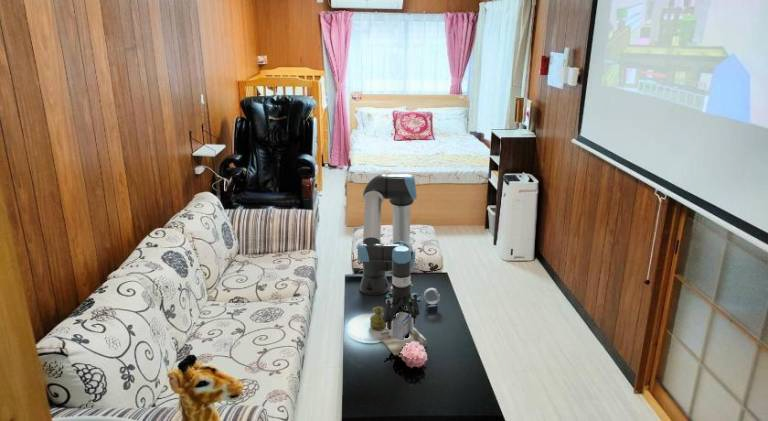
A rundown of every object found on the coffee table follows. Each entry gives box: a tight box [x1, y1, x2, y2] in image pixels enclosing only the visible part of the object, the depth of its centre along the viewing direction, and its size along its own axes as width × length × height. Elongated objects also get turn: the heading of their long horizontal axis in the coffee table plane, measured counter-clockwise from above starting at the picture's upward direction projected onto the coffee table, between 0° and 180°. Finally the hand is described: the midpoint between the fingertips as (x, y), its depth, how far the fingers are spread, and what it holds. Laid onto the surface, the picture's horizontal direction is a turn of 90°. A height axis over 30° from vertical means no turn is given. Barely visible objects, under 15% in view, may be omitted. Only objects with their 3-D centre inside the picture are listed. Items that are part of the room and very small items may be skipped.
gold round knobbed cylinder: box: [369, 305, 387, 332], centre depth 235 cm, size 7×7×10 cm
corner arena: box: [379, 326, 428, 356], centre depth 223 cm, size 14×15×4 cm
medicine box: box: [392, 311, 410, 340], centre depth 219 cm, size 8×4×9 cm, turn 155°
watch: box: [423, 287, 441, 314], centre depth 251 cm, size 6×8×11 cm
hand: (401, 333), depth 220 cm, fingers closed on medicine box, 9 cm apart
